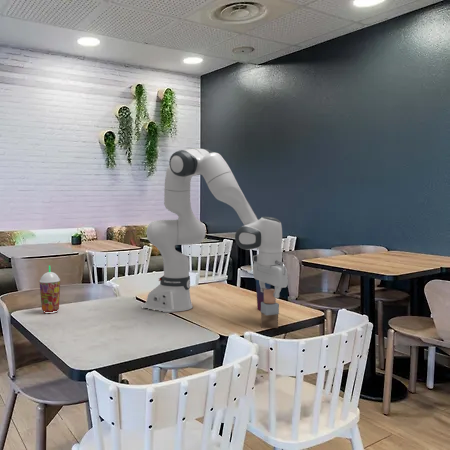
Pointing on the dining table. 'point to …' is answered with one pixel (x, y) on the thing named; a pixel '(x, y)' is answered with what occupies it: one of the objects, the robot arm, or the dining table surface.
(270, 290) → the orange brown block
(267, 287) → the cup
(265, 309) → the tower top block
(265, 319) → the tower base
